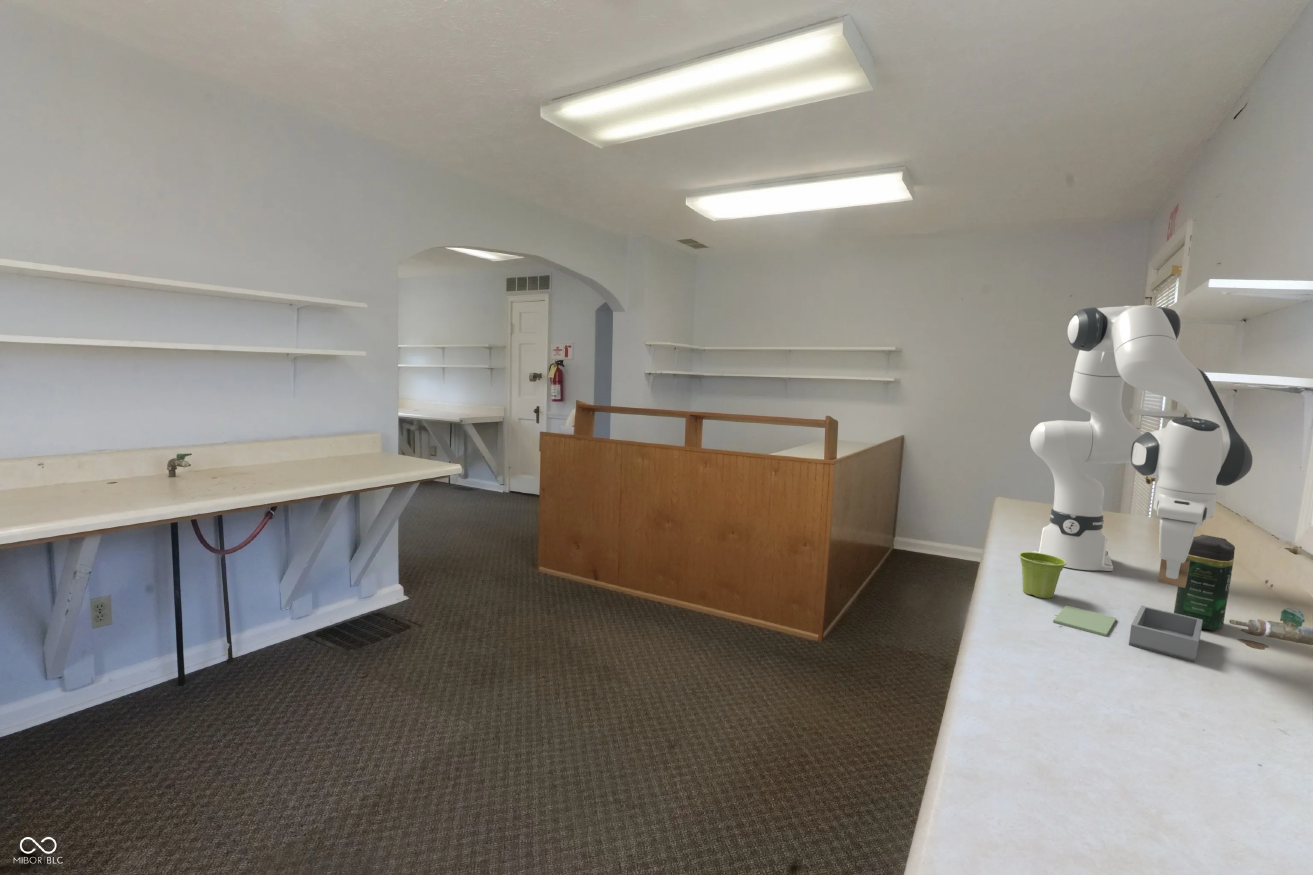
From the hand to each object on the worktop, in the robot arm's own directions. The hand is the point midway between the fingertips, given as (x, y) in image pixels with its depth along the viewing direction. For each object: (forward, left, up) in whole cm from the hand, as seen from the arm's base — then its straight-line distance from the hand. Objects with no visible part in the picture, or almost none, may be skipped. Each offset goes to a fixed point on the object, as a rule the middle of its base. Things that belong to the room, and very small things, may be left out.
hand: (1173, 574), depth 119 cm
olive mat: (0, -13, -14) cm, 19 cm away
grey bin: (0, 0, -14) cm, 14 cm away
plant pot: (-11, -24, -14) cm, 30 cm away
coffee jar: (-18, +4, -14) cm, 23 cm away
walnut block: (0, 0, -2) cm, 2 cm away
